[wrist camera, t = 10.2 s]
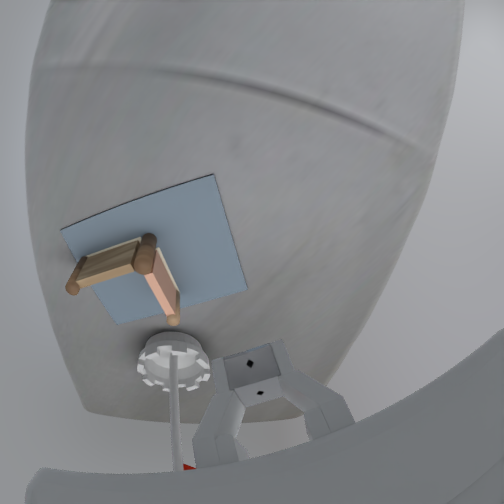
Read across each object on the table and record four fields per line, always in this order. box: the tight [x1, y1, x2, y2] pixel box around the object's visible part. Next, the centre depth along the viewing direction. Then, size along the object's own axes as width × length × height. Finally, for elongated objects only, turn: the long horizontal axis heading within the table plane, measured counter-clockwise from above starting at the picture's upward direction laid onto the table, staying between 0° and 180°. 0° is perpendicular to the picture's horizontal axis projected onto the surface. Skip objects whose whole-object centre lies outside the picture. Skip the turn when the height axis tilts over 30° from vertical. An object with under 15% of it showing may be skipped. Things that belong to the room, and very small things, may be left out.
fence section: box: [144, 250, 180, 326], centre depth 37 cm, size 2×9×6 cm, turn 12°
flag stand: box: [137, 331, 210, 472], centre depth 37 cm, size 13×13×30 cm
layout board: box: [60, 174, 248, 325], centre depth 39 cm, size 19×24×1 cm
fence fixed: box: [65, 233, 157, 295], centre depth 34 cm, size 2×13×7 cm, turn 102°
